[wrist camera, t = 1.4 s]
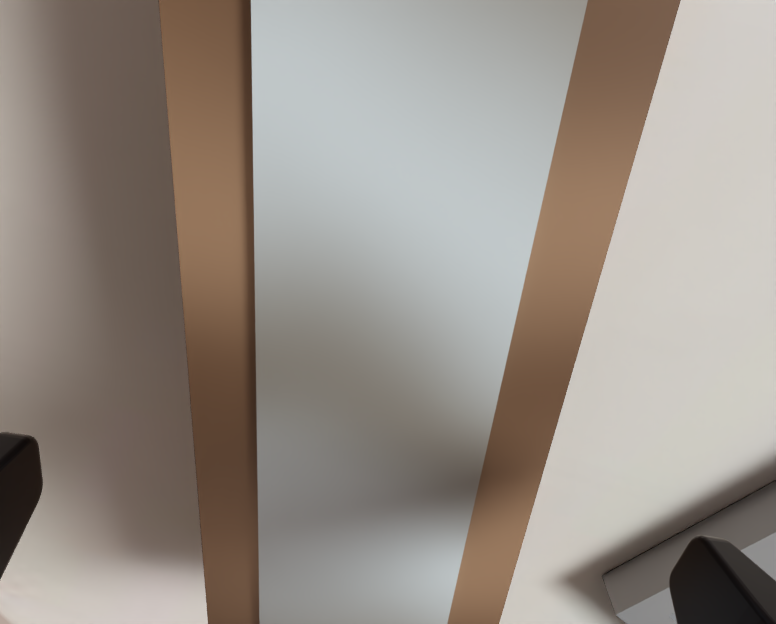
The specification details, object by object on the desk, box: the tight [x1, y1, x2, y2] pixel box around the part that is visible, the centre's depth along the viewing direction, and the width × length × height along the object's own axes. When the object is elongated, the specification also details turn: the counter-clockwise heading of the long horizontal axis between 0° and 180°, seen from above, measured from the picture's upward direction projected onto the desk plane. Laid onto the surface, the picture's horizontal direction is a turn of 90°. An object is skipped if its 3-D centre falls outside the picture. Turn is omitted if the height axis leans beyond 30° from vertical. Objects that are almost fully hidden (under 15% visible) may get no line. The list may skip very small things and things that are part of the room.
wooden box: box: [159, 0, 680, 624], centre depth 11 cm, size 16×6×4 cm, turn 175°
